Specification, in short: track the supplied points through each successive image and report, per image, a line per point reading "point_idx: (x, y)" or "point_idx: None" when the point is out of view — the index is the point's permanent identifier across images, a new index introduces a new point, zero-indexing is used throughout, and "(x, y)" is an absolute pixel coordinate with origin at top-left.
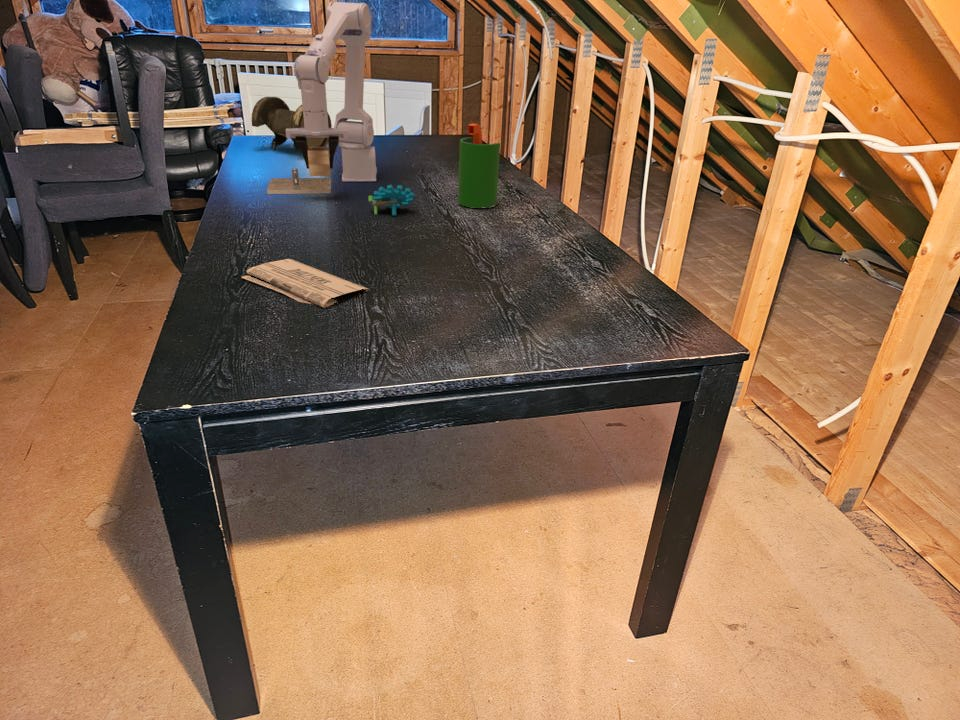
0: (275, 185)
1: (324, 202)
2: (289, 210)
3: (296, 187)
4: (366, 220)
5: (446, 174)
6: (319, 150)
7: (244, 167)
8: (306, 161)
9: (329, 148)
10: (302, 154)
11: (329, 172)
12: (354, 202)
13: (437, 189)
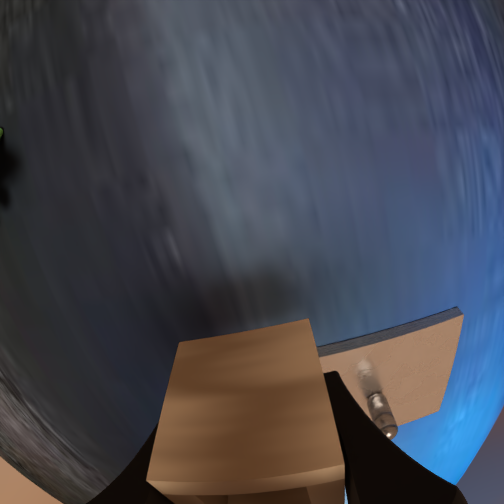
0: (436, 365)
1: (229, 247)
2: (357, 99)
3: (372, 367)
4: (14, 58)
5: (56, 464)
6: (235, 492)
7: (465, 446)
8: (345, 402)
9: (141, 502)
10: (384, 436)
11: (179, 356)
12: (109, 268)
13: (4, 392)
